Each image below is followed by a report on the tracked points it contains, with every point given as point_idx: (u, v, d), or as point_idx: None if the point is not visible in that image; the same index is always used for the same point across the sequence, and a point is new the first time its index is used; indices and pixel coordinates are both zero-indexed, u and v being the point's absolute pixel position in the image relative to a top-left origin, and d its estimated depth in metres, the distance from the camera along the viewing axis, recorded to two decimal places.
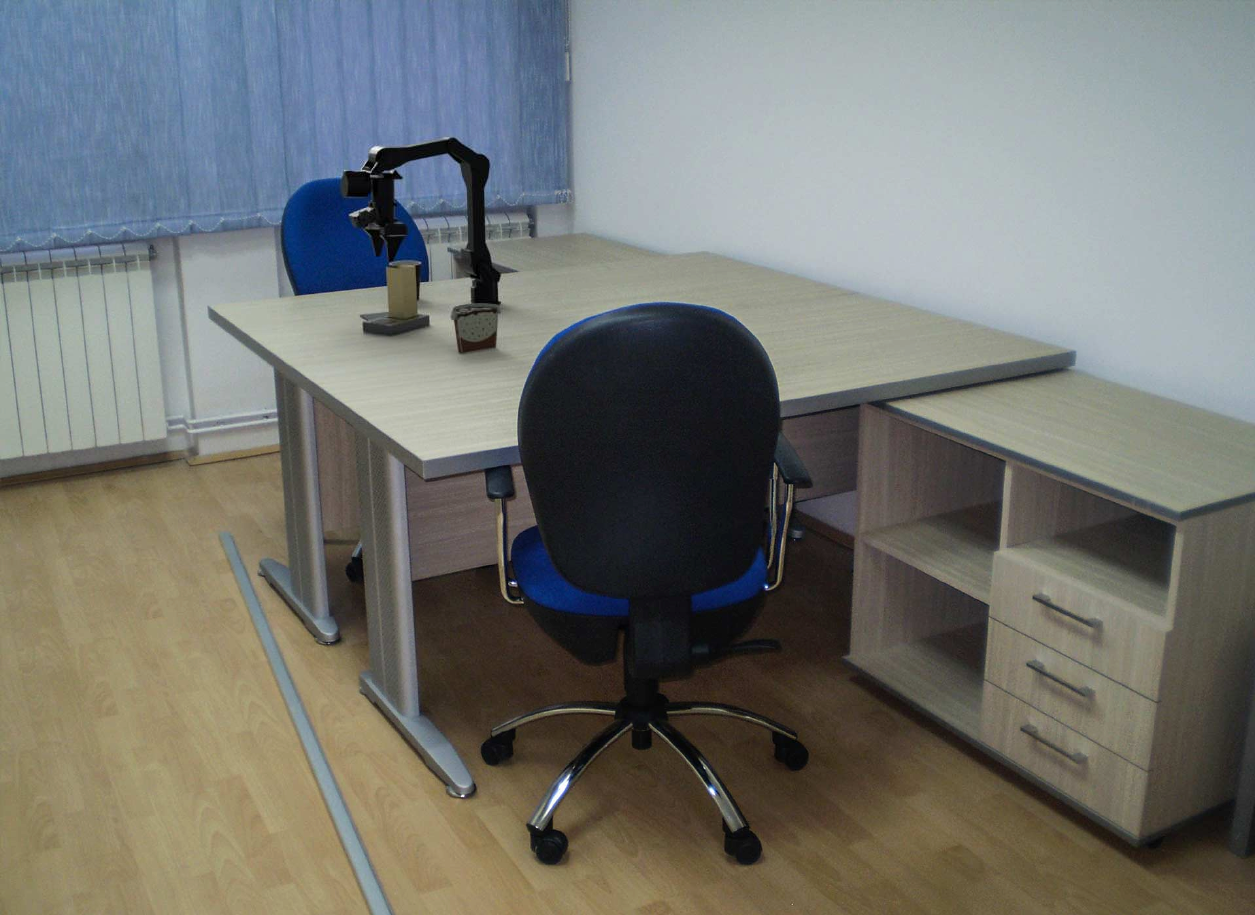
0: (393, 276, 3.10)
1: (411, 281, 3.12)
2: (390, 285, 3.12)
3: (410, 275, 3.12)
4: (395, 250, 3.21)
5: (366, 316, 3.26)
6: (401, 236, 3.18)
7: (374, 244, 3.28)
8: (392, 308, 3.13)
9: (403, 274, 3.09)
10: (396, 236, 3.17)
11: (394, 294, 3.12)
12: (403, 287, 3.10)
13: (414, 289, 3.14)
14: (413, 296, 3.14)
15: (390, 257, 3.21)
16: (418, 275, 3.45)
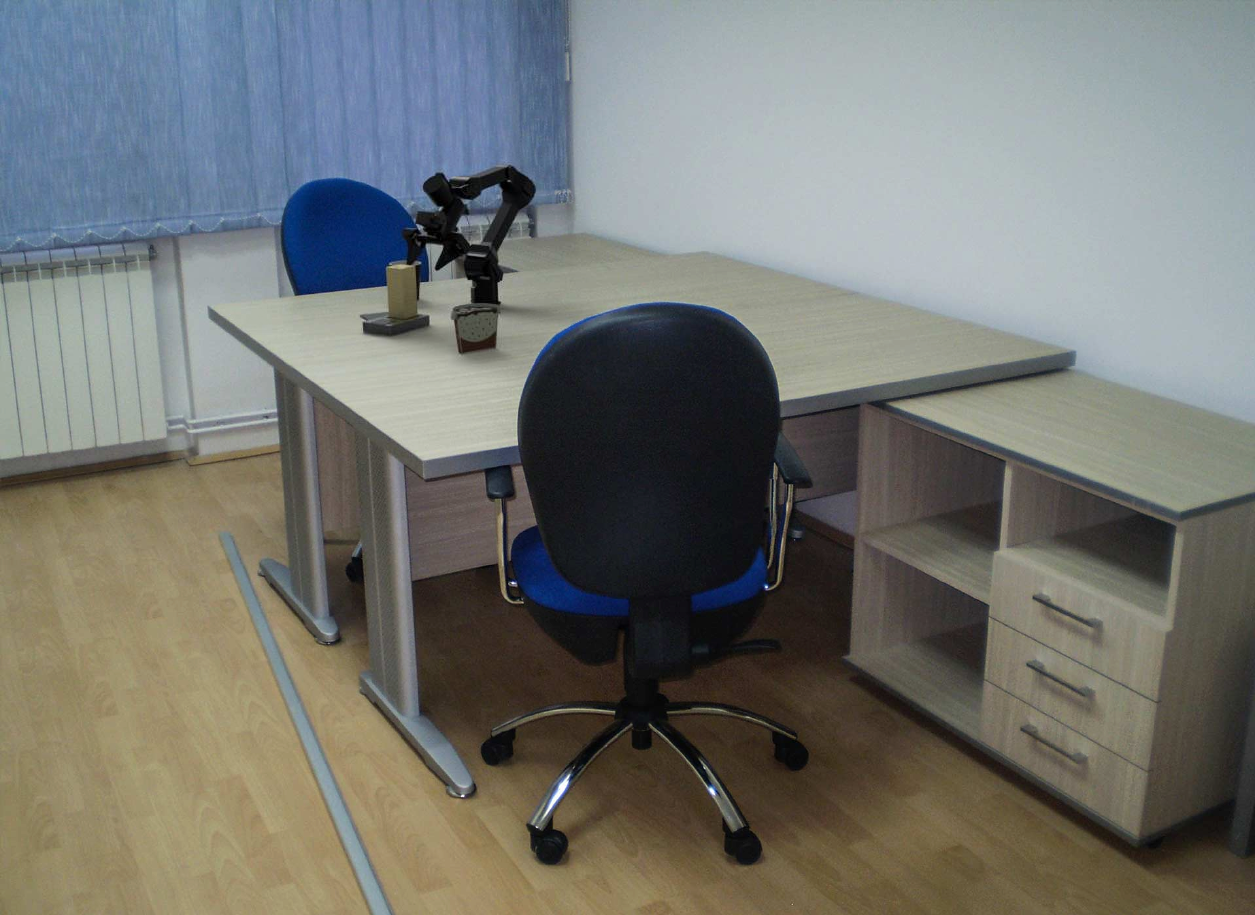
0: (393, 276, 3.10)
1: (411, 281, 3.12)
2: (390, 285, 3.12)
3: (410, 275, 3.12)
4: (445, 262, 3.18)
5: (366, 316, 3.26)
6: (461, 252, 3.18)
7: (411, 254, 3.21)
8: (392, 308, 3.13)
9: (403, 274, 3.09)
10: (458, 249, 3.17)
11: (394, 294, 3.12)
12: (403, 287, 3.10)
13: (414, 289, 3.14)
14: (413, 296, 3.14)
15: (439, 265, 3.16)
16: (418, 275, 3.45)
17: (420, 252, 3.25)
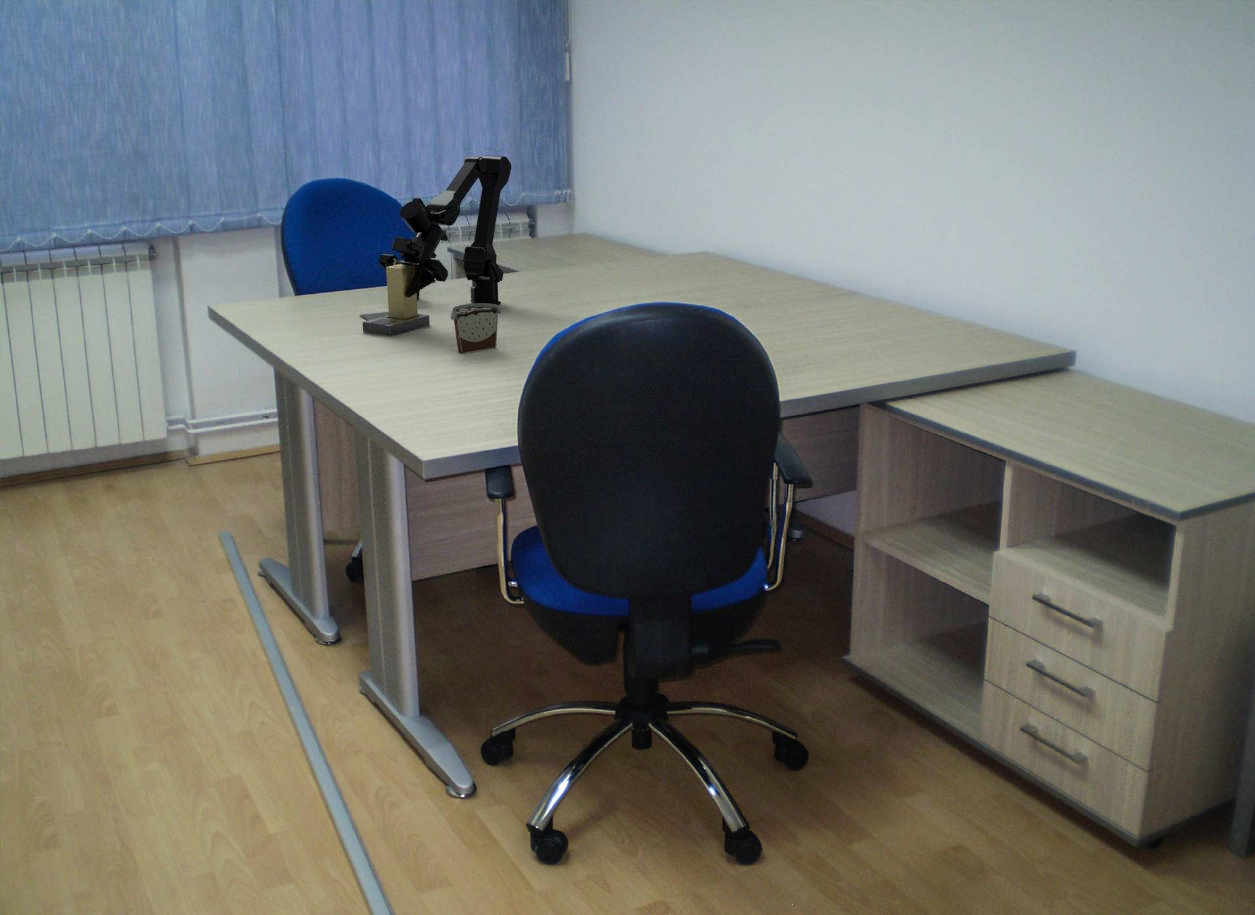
0: (393, 276, 3.10)
1: (411, 280, 3.12)
2: (390, 285, 3.12)
3: (411, 275, 3.12)
4: (418, 288, 3.13)
5: (366, 316, 3.26)
6: (433, 279, 3.13)
7: None
8: (392, 308, 3.13)
9: (403, 274, 3.09)
10: (431, 276, 3.12)
11: (394, 294, 3.12)
12: (403, 287, 3.10)
13: None
14: (413, 296, 3.14)
15: (411, 292, 3.11)
16: None
17: None
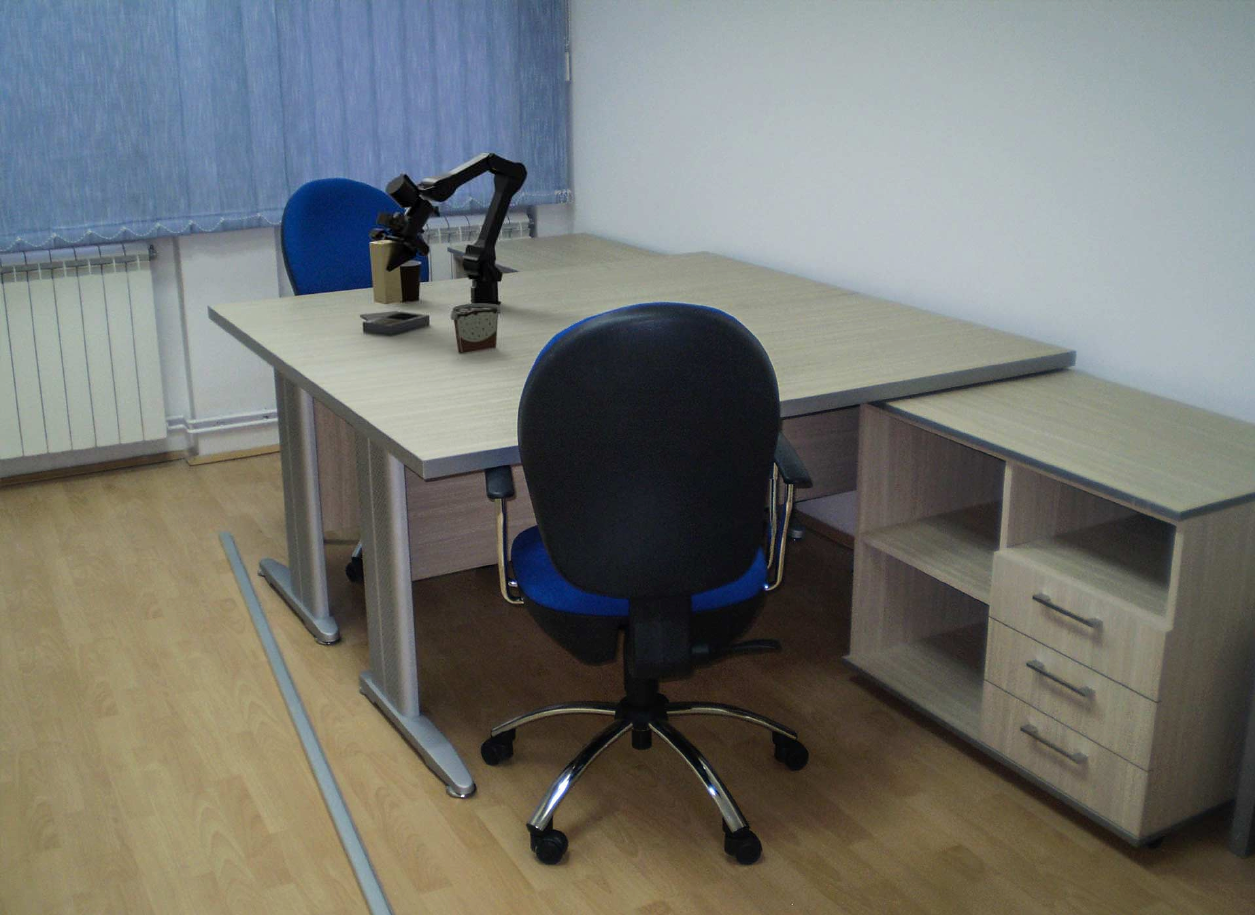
0: (375, 251, 3.15)
1: None
2: (373, 260, 3.17)
3: (392, 251, 3.16)
4: (399, 263, 3.17)
5: (366, 316, 3.26)
6: (414, 254, 3.17)
7: None
8: (375, 283, 3.19)
9: (383, 250, 3.14)
10: (411, 251, 3.16)
11: (376, 269, 3.17)
12: (384, 262, 3.15)
13: None
14: (396, 272, 3.18)
15: (391, 266, 3.16)
16: (418, 275, 3.45)
17: None
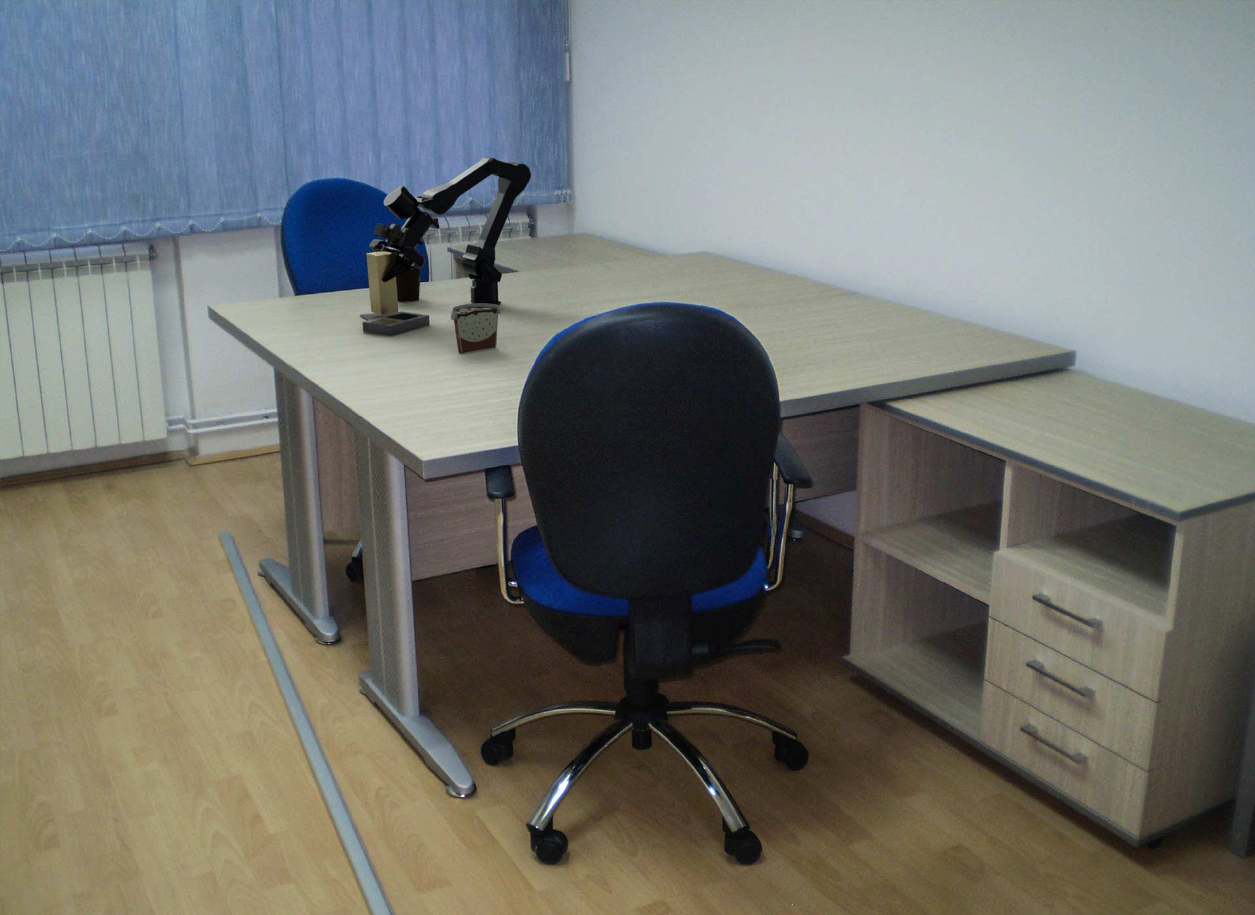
0: (371, 262, 3.20)
1: None
2: (370, 271, 3.22)
3: (388, 262, 3.20)
4: (394, 274, 3.21)
5: (366, 316, 3.26)
6: (410, 265, 3.20)
7: None
8: (372, 293, 3.23)
9: (378, 261, 3.18)
10: (407, 262, 3.19)
11: (372, 280, 3.21)
12: (379, 273, 3.19)
13: None
14: (392, 283, 3.22)
15: (386, 277, 3.20)
16: (418, 275, 3.45)
17: None
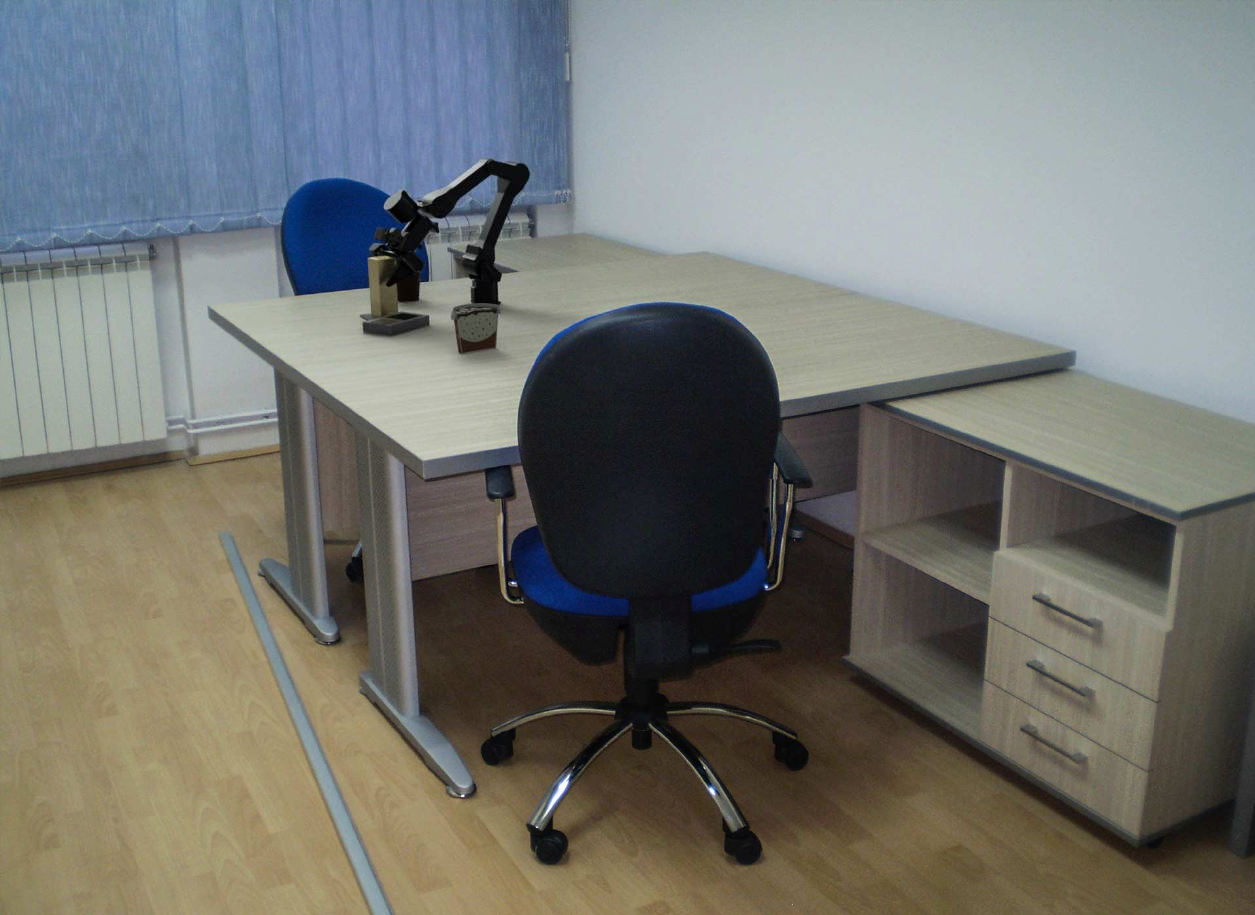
0: (372, 266, 3.20)
1: (390, 272, 3.21)
2: (370, 275, 3.22)
3: (389, 267, 3.20)
4: (398, 279, 3.19)
5: (366, 316, 3.26)
6: (414, 270, 3.19)
7: None
8: (372, 298, 3.24)
9: (379, 265, 3.18)
10: (410, 267, 3.18)
11: (373, 284, 3.22)
12: (380, 278, 3.19)
13: None
14: (392, 287, 3.22)
15: (390, 282, 3.19)
16: (418, 275, 3.45)
17: None
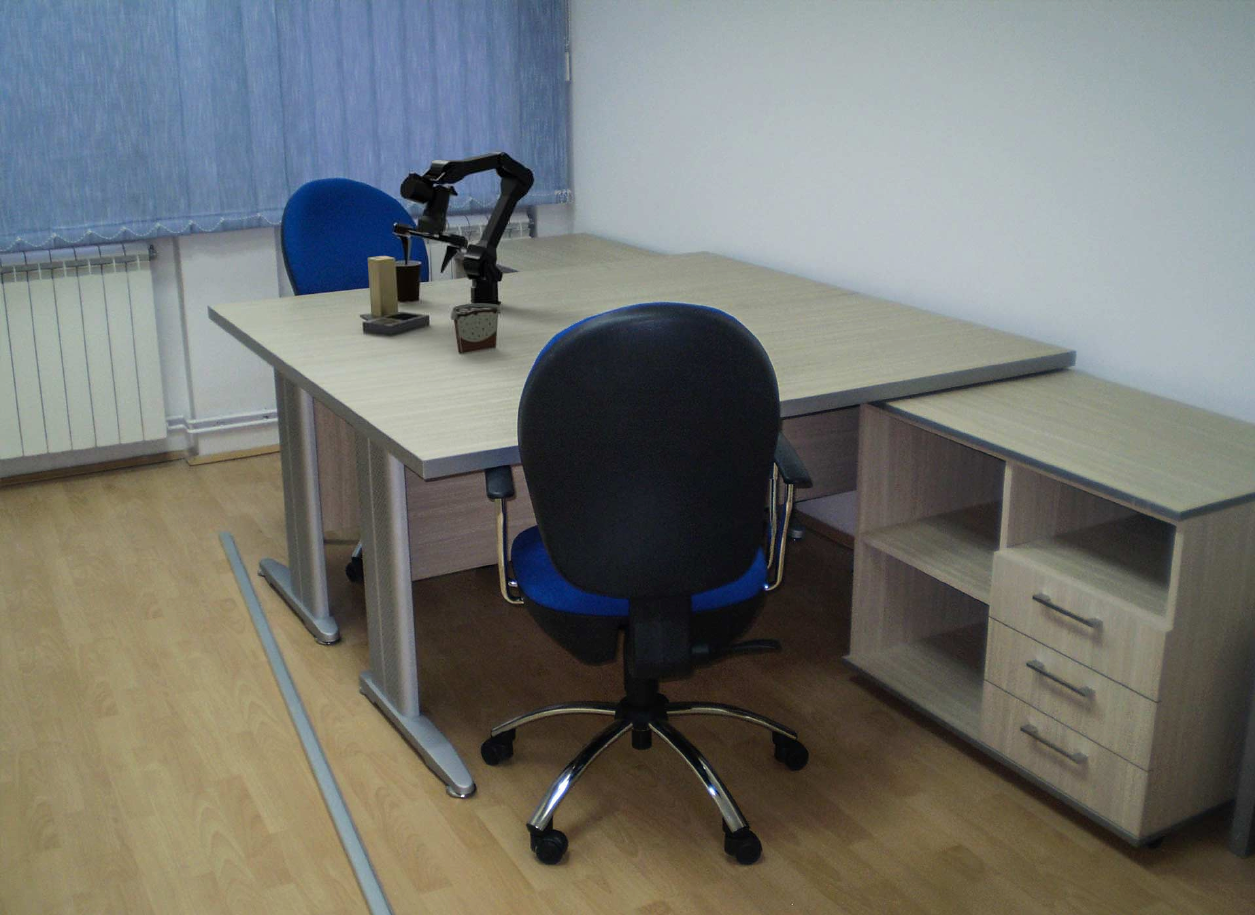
0: (372, 266, 3.20)
1: (390, 272, 3.21)
2: (370, 275, 3.22)
3: (389, 267, 3.20)
4: (448, 262, 3.26)
5: (366, 316, 3.26)
6: (460, 250, 3.27)
7: (408, 252, 3.24)
8: (372, 298, 3.24)
9: (379, 265, 3.18)
10: (460, 249, 3.25)
11: (373, 284, 3.22)
12: (380, 278, 3.19)
13: (393, 280, 3.22)
14: (392, 287, 3.22)
15: (444, 268, 3.25)
16: (418, 275, 3.45)
17: None
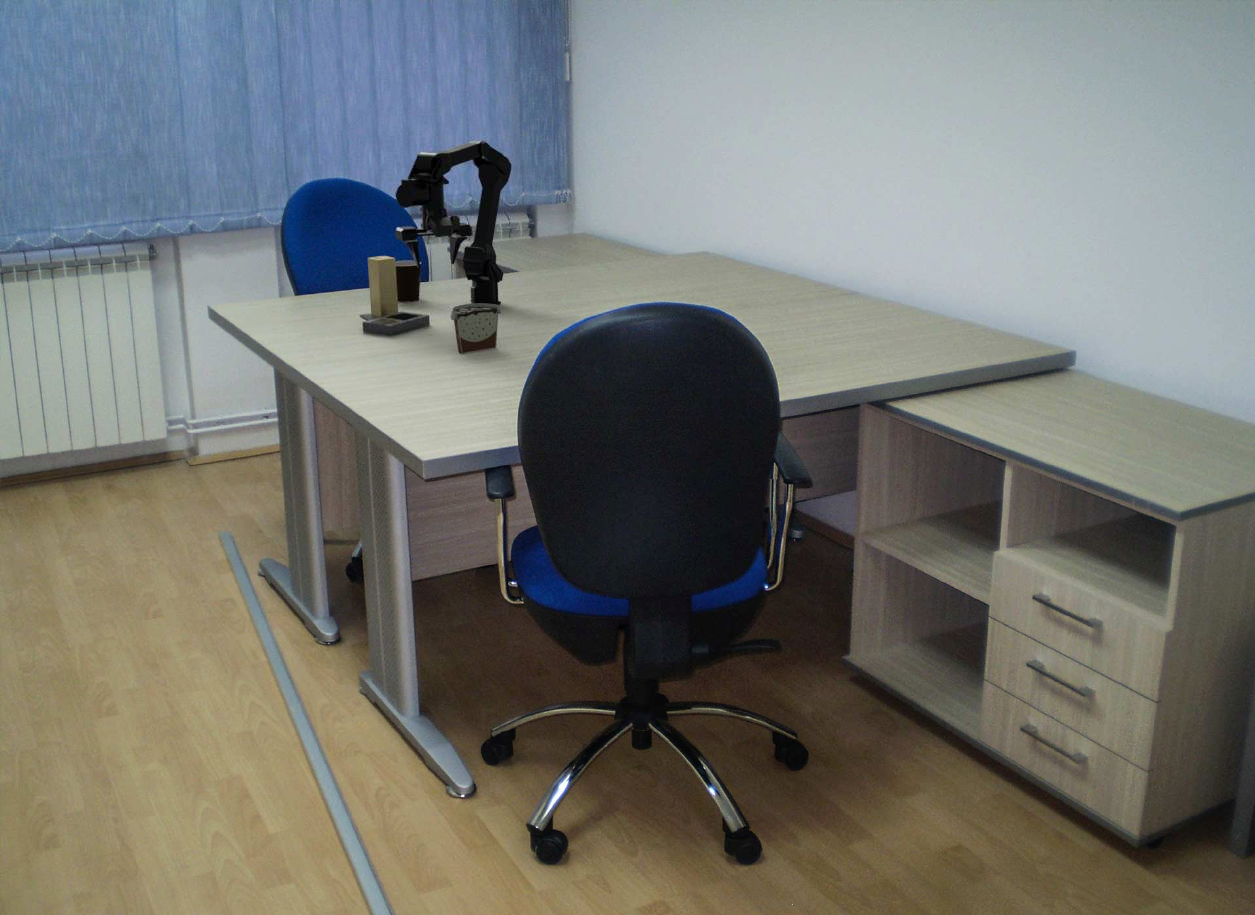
0: (372, 266, 3.20)
1: (390, 272, 3.21)
2: (370, 275, 3.22)
3: (389, 267, 3.20)
4: None
5: (366, 316, 3.26)
6: None
7: None
8: (372, 298, 3.24)
9: (379, 265, 3.18)
10: None
11: (373, 284, 3.22)
12: (380, 278, 3.19)
13: (393, 280, 3.22)
14: (392, 287, 3.22)
15: None
16: (418, 275, 3.45)
17: None
